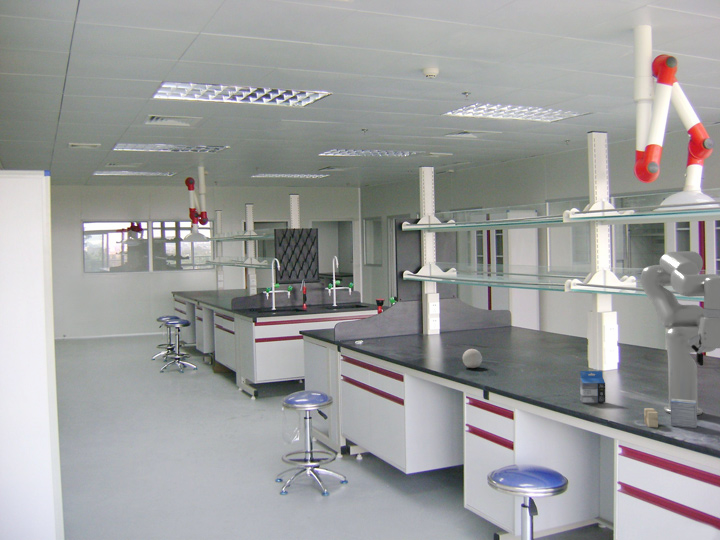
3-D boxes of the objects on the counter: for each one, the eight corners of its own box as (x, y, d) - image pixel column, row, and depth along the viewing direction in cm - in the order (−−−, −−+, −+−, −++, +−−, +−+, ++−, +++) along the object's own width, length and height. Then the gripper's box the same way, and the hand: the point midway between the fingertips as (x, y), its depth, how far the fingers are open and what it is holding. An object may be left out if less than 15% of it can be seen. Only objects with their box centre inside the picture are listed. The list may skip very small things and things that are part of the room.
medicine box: (697, 425, 220) (696, 400, 220) (696, 428, 216) (696, 403, 216) (671, 422, 224) (671, 398, 224) (670, 426, 220) (670, 401, 220)
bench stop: (644, 422, 226) (644, 408, 225) (653, 422, 225) (653, 408, 225) (648, 427, 220) (648, 412, 220) (657, 427, 219) (657, 412, 219)
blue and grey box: (582, 403, 254) (582, 372, 254) (580, 401, 258) (579, 371, 258) (605, 403, 253) (605, 372, 253) (603, 401, 257) (602, 370, 257)
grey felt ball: (461, 366, 340) (461, 347, 340) (480, 366, 340) (480, 347, 339) (463, 370, 330) (463, 350, 330) (483, 369, 330) (483, 350, 329)
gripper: (741, 312, 214) (740, 363, 215) (685, 312, 217) (684, 362, 219) (750, 315, 206) (749, 368, 208) (691, 315, 210) (691, 367, 211)
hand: (716, 365), depth 213 cm, fingers open, 9 cm apart
